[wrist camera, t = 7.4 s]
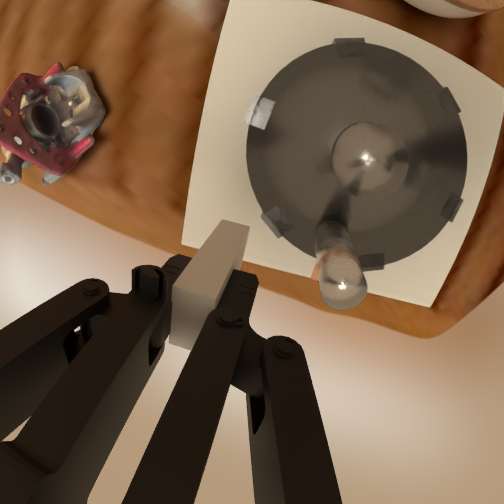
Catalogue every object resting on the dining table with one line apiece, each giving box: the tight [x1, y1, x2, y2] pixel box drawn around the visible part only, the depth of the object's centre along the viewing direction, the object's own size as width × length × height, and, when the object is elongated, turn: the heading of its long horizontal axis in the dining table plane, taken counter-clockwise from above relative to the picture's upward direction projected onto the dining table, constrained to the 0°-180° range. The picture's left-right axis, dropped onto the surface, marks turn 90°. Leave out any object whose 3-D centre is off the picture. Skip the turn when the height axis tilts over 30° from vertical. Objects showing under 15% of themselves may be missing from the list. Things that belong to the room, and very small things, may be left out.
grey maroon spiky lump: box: [0, 62, 106, 186], centre depth 20 cm, size 11×11×12 cm
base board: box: [182, 0, 504, 307], centre depth 21 cm, size 24×22×2 cm
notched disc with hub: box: [244, 38, 468, 310], centre depth 16 cm, size 16×17×9 cm
